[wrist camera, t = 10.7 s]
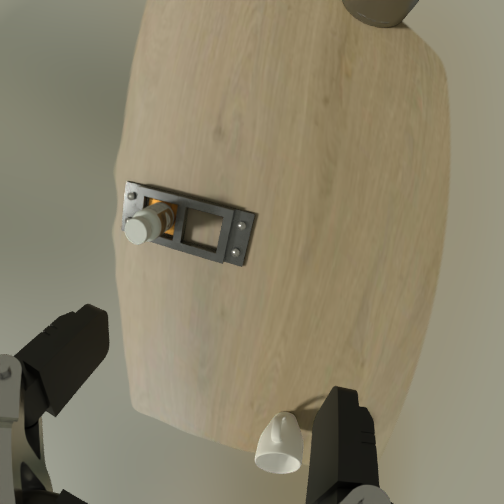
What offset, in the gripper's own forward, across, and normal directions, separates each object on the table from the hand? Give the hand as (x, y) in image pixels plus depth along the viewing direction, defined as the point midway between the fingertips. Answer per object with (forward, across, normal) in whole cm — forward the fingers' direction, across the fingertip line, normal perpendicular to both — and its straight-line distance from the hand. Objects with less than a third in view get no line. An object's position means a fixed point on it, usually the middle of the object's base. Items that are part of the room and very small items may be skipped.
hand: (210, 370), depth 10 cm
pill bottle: (+33, +17, +8) cm, 38 cm away
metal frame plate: (+33, +14, +8) cm, 37 cm away
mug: (+33, -11, +40) cm, 53 cm away
